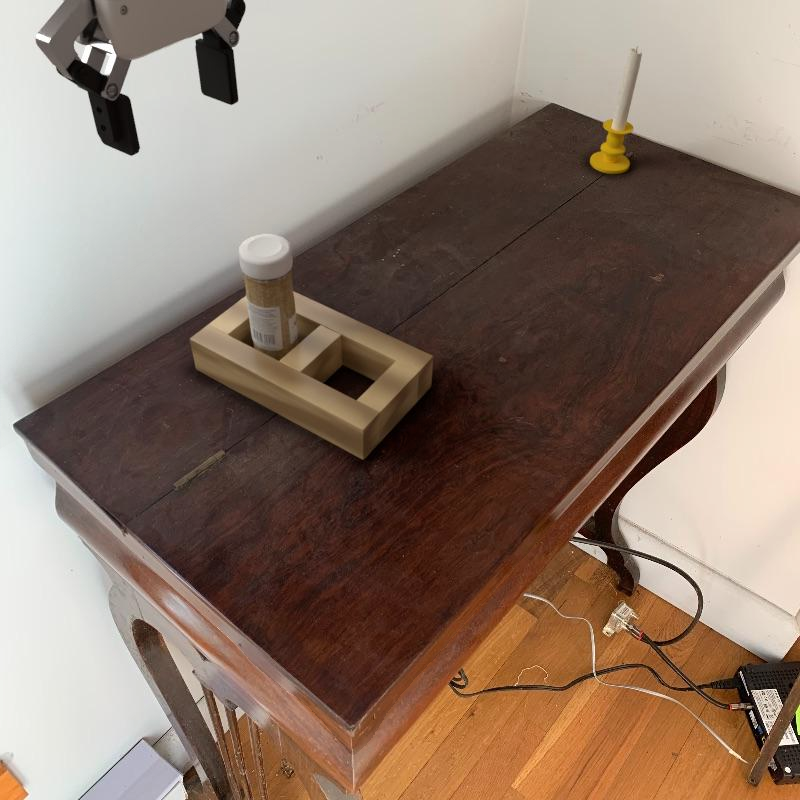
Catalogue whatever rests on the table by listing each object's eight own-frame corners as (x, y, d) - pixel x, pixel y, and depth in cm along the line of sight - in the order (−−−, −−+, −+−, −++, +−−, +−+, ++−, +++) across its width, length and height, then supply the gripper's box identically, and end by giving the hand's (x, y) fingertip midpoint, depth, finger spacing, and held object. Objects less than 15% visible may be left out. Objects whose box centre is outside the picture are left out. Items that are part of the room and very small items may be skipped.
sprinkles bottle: (310, 360, 79) (302, 246, 69) (276, 384, 77) (262, 269, 67) (278, 339, 81) (266, 225, 71) (244, 361, 79) (226, 247, 69)
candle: (623, 154, 109) (652, 37, 98) (633, 174, 105) (664, 55, 94) (585, 154, 109) (610, 37, 98) (594, 174, 105) (621, 55, 94)
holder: (363, 460, 70) (363, 430, 67) (195, 369, 78) (189, 338, 75) (431, 386, 77) (433, 356, 74) (271, 309, 84) (267, 278, 81)
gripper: (186, -195, 52) (218, 69, 64) (-54, -154, 41) (37, 153, 54) (276, -177, 49) (291, 96, 61) (42, -129, 39) (116, 189, 51)
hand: (173, 122), depth 57 cm, fingers open, 9 cm apart
